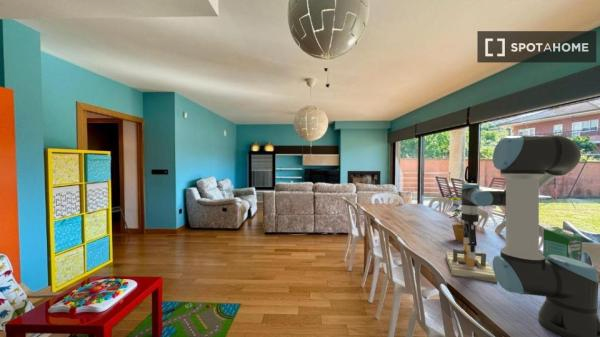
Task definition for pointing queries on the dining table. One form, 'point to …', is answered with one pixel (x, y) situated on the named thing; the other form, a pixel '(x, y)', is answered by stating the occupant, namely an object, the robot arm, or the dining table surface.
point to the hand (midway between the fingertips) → (469, 253)
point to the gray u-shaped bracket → (455, 251)
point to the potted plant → (457, 228)
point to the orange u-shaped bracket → (468, 260)
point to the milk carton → (562, 243)
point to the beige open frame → (480, 273)
